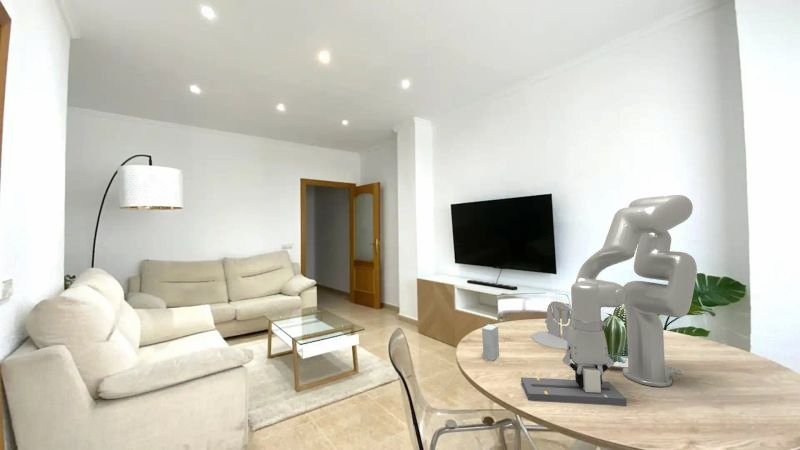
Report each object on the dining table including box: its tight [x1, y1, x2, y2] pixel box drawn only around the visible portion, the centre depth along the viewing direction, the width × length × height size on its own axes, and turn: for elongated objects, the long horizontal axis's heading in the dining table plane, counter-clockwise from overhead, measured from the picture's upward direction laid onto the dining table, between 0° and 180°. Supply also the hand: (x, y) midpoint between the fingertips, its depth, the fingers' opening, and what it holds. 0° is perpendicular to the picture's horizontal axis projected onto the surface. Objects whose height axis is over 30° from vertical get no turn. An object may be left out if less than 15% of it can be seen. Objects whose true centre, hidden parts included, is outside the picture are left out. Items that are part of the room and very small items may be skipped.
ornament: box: [531, 300, 572, 350], centre depth 137 cm, size 22×13×17 cm, turn 18°
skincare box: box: [481, 323, 500, 362], centre depth 122 cm, size 6×4×12 cm
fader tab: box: [581, 364, 601, 393], centre depth 93 cm, size 4×6×6 cm
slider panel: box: [520, 376, 628, 407], centre depth 94 cm, size 26×10×2 cm, turn 81°
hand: (588, 385), depth 93 cm, fingers closed on fader tab, 4 cm apart
